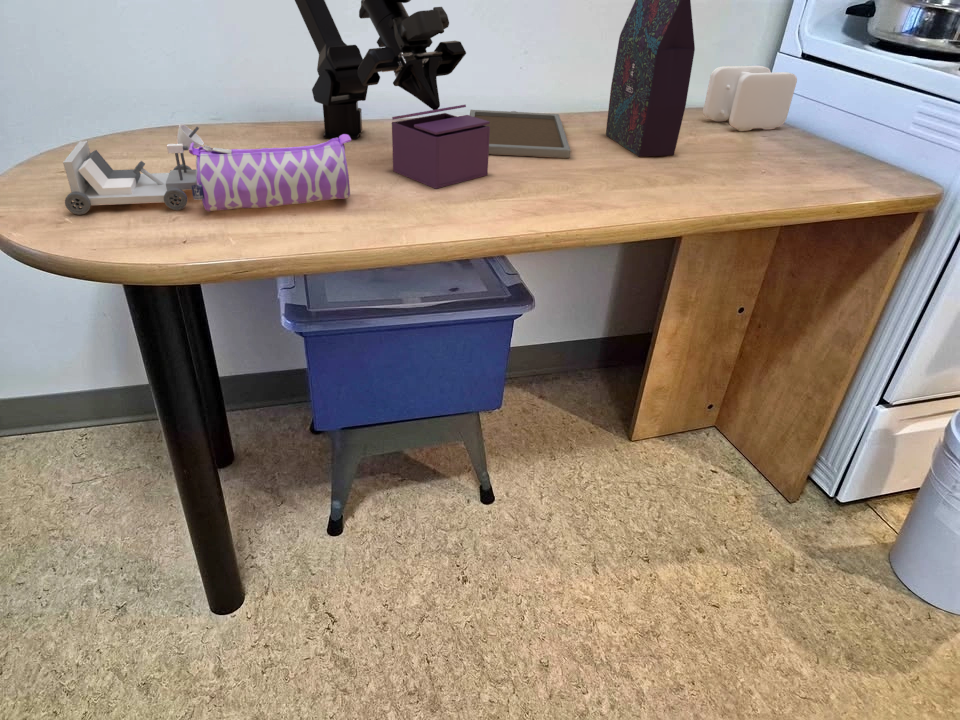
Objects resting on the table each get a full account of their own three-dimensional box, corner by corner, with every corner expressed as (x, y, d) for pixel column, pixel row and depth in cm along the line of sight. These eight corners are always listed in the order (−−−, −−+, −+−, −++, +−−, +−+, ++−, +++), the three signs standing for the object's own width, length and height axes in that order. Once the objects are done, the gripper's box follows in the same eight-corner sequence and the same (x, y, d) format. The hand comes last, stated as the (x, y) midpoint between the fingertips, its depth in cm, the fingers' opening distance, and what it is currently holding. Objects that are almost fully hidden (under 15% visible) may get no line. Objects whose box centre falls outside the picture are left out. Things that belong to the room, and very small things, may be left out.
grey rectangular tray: (465, 144, 124) (470, 106, 150) (465, 153, 125) (470, 114, 150) (570, 149, 124) (558, 110, 150) (569, 158, 125) (557, 118, 151)
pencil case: (197, 222, 93) (184, 152, 88) (195, 199, 100) (183, 133, 95) (358, 208, 100) (355, 142, 95) (346, 187, 107) (342, 125, 102)
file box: (392, 171, 115) (391, 117, 110) (444, 159, 122) (445, 107, 117) (435, 188, 109) (436, 132, 104) (487, 175, 115) (490, 121, 111)
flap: (392, 119, 110) (391, 117, 110) (445, 110, 117) (445, 107, 117) (412, 116, 107) (411, 113, 106) (466, 107, 113) (465, 104, 113)
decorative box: (638, 133, 143) (664, -20, 128) (678, 156, 130) (711, -11, 115) (602, 134, 141) (624, -21, 126) (638, 158, 128) (668, -13, 112)
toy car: (202, 117, 101) (196, 139, 92) (213, 182, 107) (208, 209, 97) (67, 119, 97) (46, 142, 88) (86, 187, 102) (68, 215, 93)
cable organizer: (727, 132, 147) (741, 74, 140) (699, 120, 155) (710, 65, 149) (784, 129, 151) (800, 73, 145) (753, 117, 159) (767, 64, 153)
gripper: (364, -12, 99) (414, 83, 98) (460, -15, 110) (504, 70, 109) (337, 40, 108) (382, 127, 107) (428, 33, 119) (469, 111, 118)
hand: (436, 108), depth 110 cm, fingers closed, pressing on flap
